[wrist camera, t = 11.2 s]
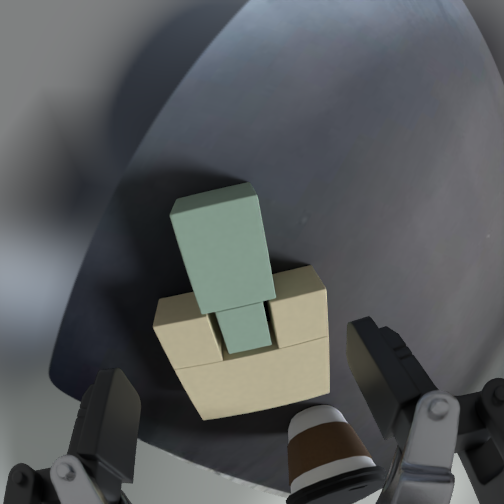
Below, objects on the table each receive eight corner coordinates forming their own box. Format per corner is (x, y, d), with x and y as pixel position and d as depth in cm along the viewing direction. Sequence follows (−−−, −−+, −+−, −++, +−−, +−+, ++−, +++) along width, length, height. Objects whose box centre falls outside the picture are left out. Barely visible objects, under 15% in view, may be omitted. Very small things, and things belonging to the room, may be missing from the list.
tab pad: (175, 198, 19) (168, 214, 16) (249, 181, 19) (257, 194, 16) (215, 327, 24) (216, 357, 21) (275, 314, 24) (284, 342, 21)
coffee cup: (288, 391, 29) (317, 490, 18) (369, 390, 31) (408, 468, 21) (258, 440, 33) (273, 520, 22) (331, 437, 35) (355, 505, 25)
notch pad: (158, 298, 22) (152, 326, 19) (311, 264, 23) (326, 288, 19) (202, 392, 27) (203, 420, 24) (319, 367, 28) (329, 393, 25)
